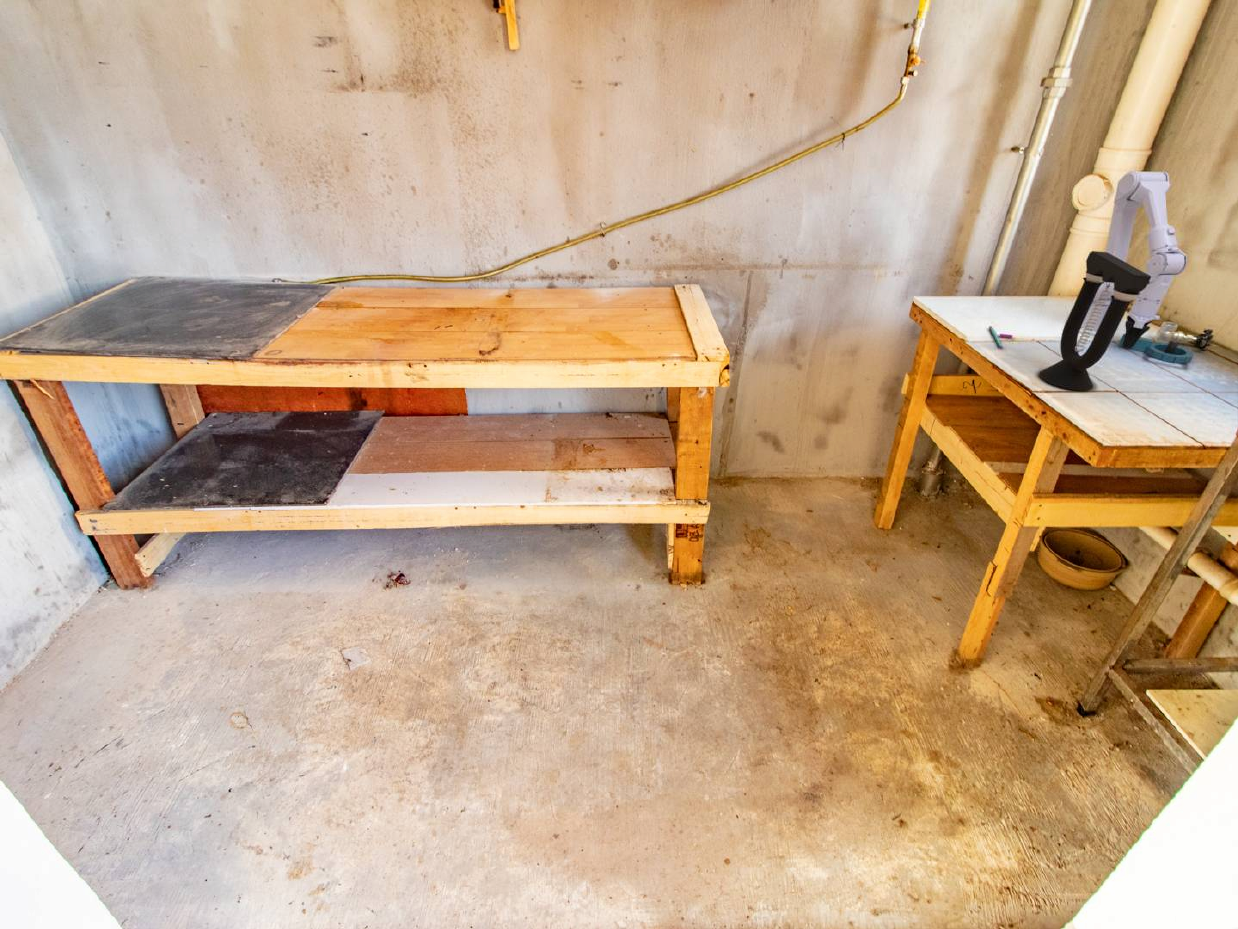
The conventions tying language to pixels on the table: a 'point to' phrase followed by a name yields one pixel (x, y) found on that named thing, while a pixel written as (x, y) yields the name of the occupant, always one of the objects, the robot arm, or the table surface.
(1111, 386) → the table surface
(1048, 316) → the table surface
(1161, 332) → the valve
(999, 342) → the squeegee
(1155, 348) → the ring
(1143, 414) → the table surface
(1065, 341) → the spring support
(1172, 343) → the ring stand
